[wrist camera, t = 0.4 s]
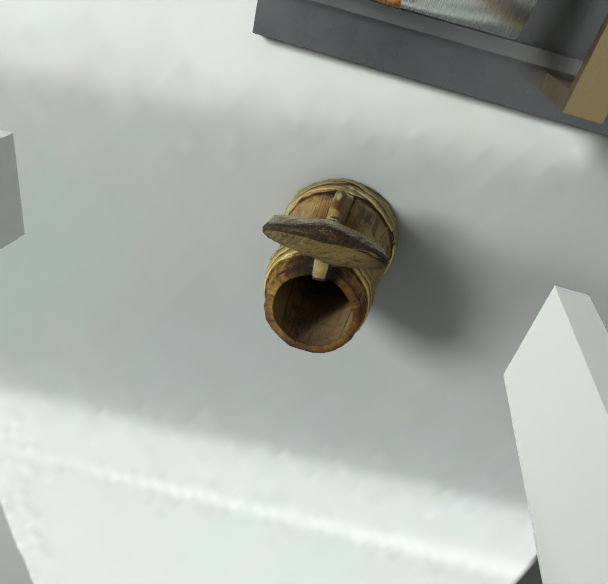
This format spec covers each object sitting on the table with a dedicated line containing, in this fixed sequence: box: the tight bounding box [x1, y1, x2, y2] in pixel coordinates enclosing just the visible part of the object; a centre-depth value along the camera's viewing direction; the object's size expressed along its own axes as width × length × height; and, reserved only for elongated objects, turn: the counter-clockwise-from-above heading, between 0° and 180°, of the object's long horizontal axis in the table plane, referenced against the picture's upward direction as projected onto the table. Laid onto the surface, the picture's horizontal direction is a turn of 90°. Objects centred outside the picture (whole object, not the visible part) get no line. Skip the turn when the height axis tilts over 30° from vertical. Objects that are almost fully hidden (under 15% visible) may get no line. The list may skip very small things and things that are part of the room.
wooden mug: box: [263, 179, 398, 353], centre depth 31 cm, size 9×14×18 cm, turn 168°
